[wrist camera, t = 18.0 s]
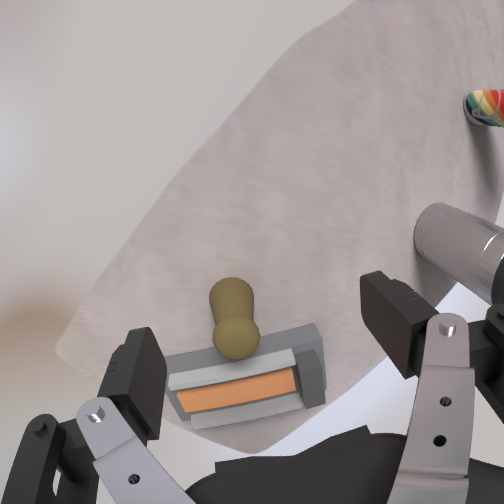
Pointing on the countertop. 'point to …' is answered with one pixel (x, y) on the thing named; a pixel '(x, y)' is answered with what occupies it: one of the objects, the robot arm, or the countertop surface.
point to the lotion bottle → (485, 107)
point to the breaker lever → (237, 390)
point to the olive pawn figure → (234, 318)
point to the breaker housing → (261, 361)
